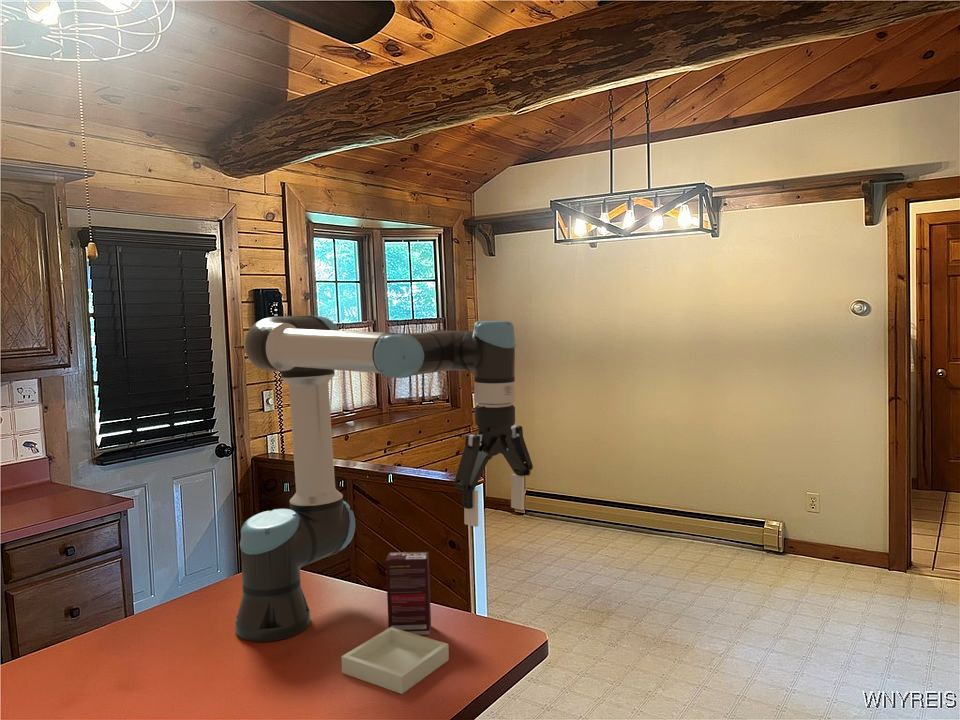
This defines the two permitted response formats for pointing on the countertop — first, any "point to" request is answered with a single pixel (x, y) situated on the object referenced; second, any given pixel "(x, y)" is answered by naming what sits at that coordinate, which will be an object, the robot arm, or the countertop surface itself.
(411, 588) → the supplement box
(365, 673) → the tray
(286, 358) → the robot arm
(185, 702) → the countertop surface
